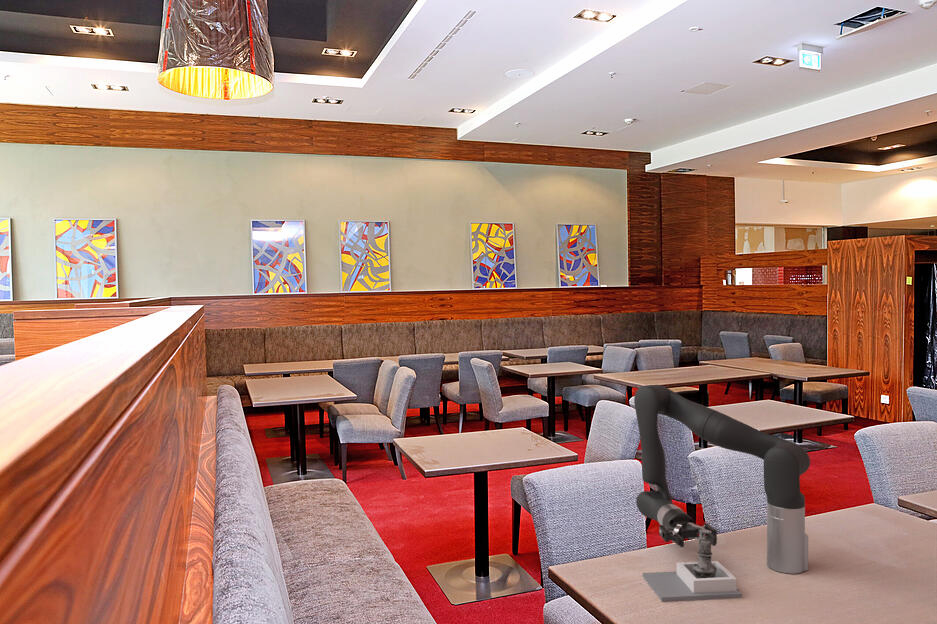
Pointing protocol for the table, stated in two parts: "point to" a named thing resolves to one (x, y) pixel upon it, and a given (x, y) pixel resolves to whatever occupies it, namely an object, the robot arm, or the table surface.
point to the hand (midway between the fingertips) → (698, 542)
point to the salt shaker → (704, 560)
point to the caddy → (693, 584)
